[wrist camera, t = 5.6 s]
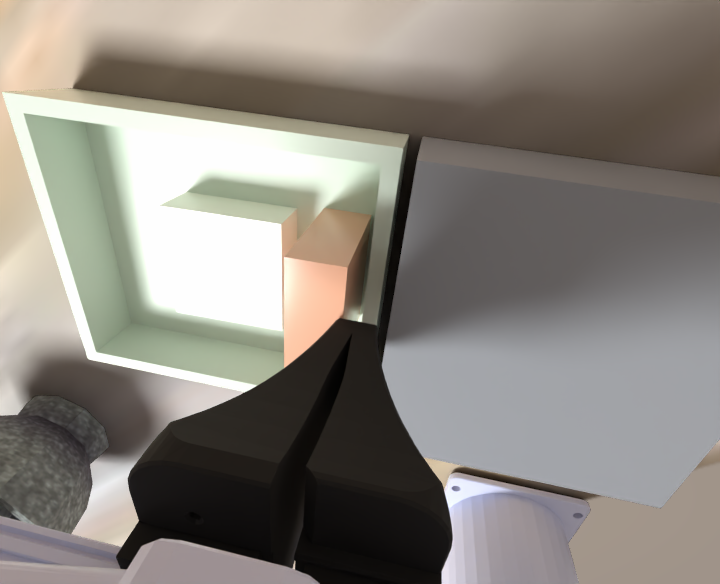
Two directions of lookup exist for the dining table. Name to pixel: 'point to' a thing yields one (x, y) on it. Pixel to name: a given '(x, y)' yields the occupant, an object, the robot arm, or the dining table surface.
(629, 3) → the dining table surface
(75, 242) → the green bin
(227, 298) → the cream tile
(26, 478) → the mortar and pestle
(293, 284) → the terracotta tile
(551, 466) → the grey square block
